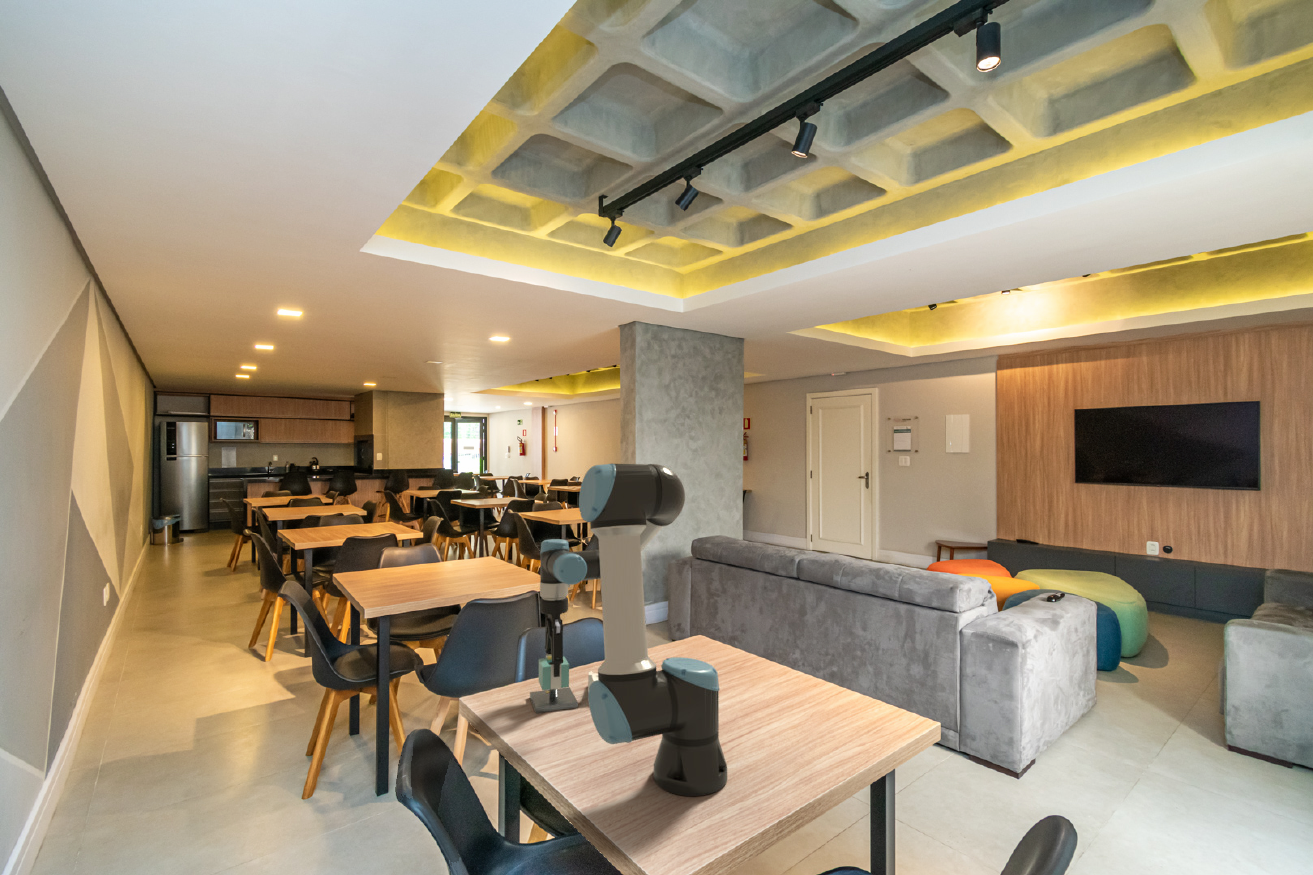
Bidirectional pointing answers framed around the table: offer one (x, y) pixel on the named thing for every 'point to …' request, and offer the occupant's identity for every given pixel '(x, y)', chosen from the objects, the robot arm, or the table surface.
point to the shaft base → (553, 700)
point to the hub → (546, 673)
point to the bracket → (591, 679)
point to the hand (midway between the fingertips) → (553, 682)
